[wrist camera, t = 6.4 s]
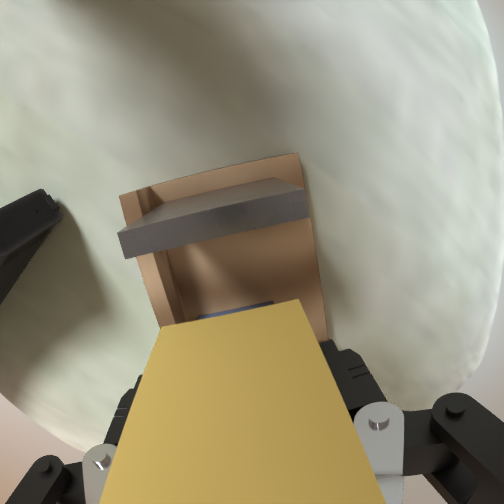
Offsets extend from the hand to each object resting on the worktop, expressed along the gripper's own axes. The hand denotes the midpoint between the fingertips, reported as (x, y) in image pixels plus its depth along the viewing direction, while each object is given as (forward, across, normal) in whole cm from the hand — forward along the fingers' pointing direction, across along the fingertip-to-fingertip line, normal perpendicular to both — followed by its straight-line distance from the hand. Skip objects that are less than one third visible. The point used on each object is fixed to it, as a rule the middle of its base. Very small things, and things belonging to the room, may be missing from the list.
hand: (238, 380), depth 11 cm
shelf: (+15, 0, +2) cm, 15 cm away
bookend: (+14, 0, -5) cm, 15 cm away
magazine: (+16, +27, -1) cm, 31 cm away
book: (+2, 0, 0) cm, 2 cm away
